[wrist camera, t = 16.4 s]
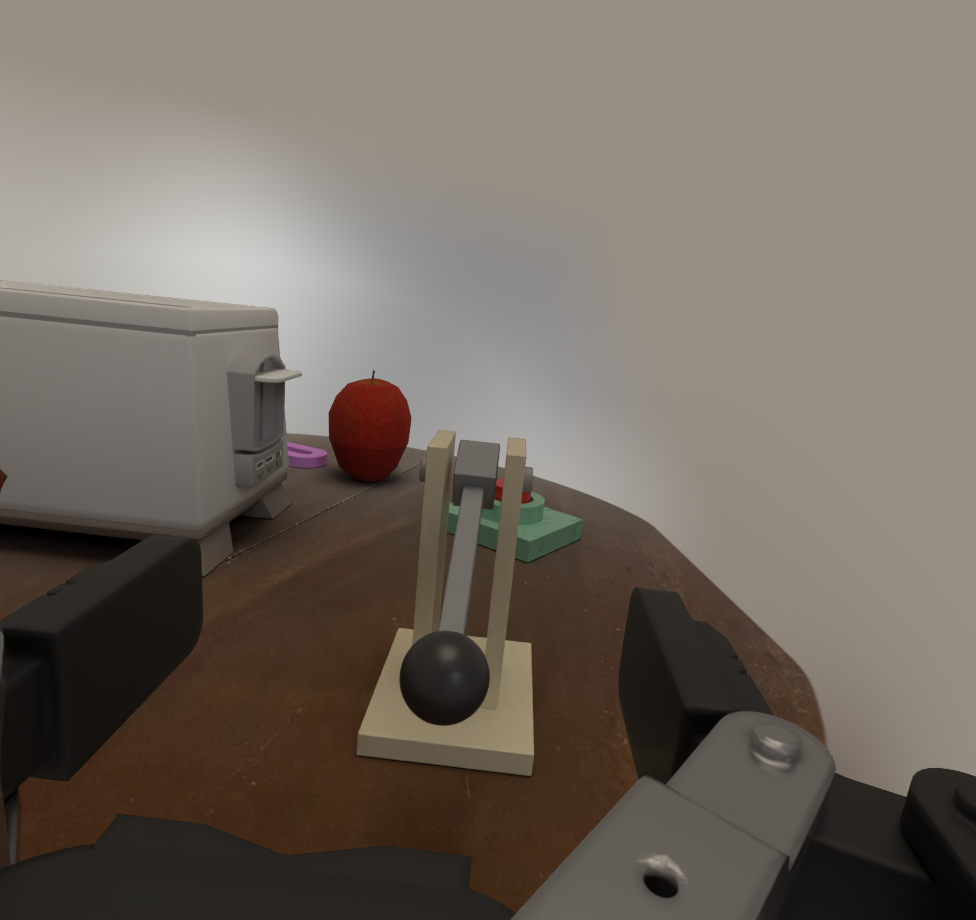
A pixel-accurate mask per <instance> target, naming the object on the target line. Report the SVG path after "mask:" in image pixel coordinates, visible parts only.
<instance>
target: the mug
mask: <svg viewBox="0 0 976 920" xmlns="http://www.w3.org/2000/svg"><path fill="white" fill-rule="evenodd" d="M6 478H7V475H6V474H5V473H4V472H3V471H2V470H1V469H0V492H1V489H2V487H3V484H4V482H5V480H6Z"/></svg>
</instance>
